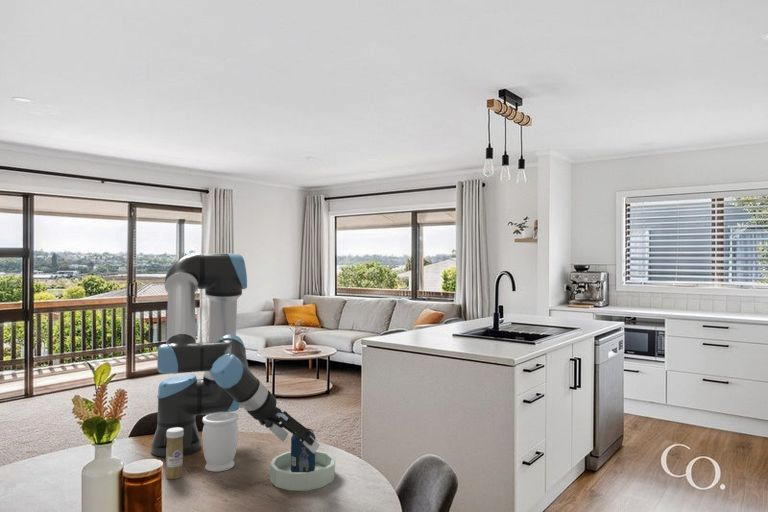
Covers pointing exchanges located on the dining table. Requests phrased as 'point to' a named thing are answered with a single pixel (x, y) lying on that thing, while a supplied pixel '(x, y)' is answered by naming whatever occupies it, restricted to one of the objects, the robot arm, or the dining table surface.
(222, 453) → the jar
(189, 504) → the dining table surface
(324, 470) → the bowl
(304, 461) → the soda can
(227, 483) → the dining table surface
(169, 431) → the sprinkles bottle
